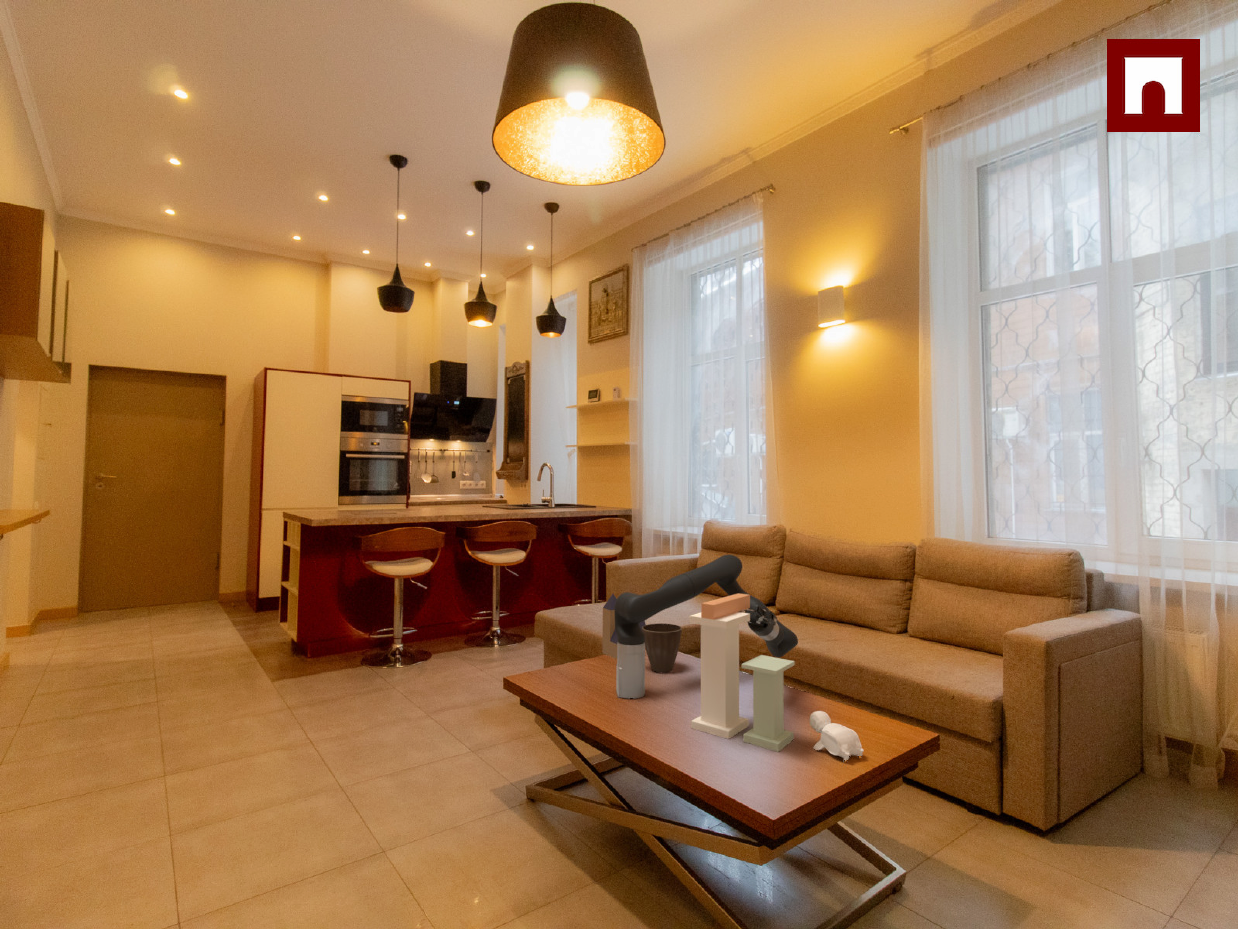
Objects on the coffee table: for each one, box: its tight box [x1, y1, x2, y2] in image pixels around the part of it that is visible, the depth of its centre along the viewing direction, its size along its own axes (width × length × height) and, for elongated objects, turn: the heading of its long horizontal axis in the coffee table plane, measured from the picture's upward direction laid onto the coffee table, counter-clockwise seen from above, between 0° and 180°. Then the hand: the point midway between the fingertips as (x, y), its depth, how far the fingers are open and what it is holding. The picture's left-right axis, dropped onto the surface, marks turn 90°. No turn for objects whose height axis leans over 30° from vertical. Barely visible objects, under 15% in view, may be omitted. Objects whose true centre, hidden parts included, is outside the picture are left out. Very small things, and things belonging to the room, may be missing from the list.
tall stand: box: [688, 611, 750, 740], centre depth 176 cm, size 14×12×32 cm
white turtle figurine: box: [809, 710, 865, 761], centre depth 160 cm, size 9×8×15 cm
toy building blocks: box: [601, 593, 647, 660], centre depth 254 cm, size 12×19×25 cm, turn 120°
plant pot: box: [642, 623, 683, 674], centre depth 230 cm, size 15×15×16 cm
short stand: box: [740, 654, 796, 753], centre depth 166 cm, size 12×10×21 cm
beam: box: [700, 593, 751, 620], centre depth 179 cm, size 22×4×4 cm, turn 141°
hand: (743, 606), depth 188 cm, fingers open, 8 cm apart
